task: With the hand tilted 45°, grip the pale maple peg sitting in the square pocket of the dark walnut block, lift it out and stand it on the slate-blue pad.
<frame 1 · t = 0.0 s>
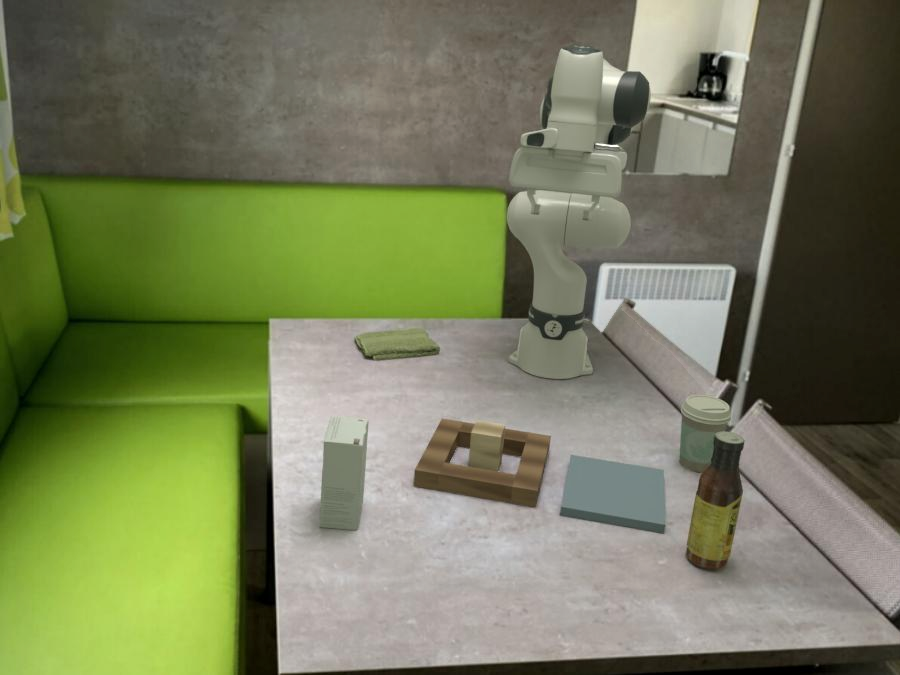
hand: (560, 217, 159), 39 cm above the table, tool pointing down, fingers open, 8 cm apart
sauce bottle: (705, 560, 128), on the table
coffee cup: (695, 465, 156), on the table
slate pad: (613, 495, 143), on the table
skincare box: (342, 516, 132), on the table
washcloth: (396, 350, 198), on the table
pocket block: (484, 467, 149), on the table
maple peg: (486, 448, 148), in the pocket block
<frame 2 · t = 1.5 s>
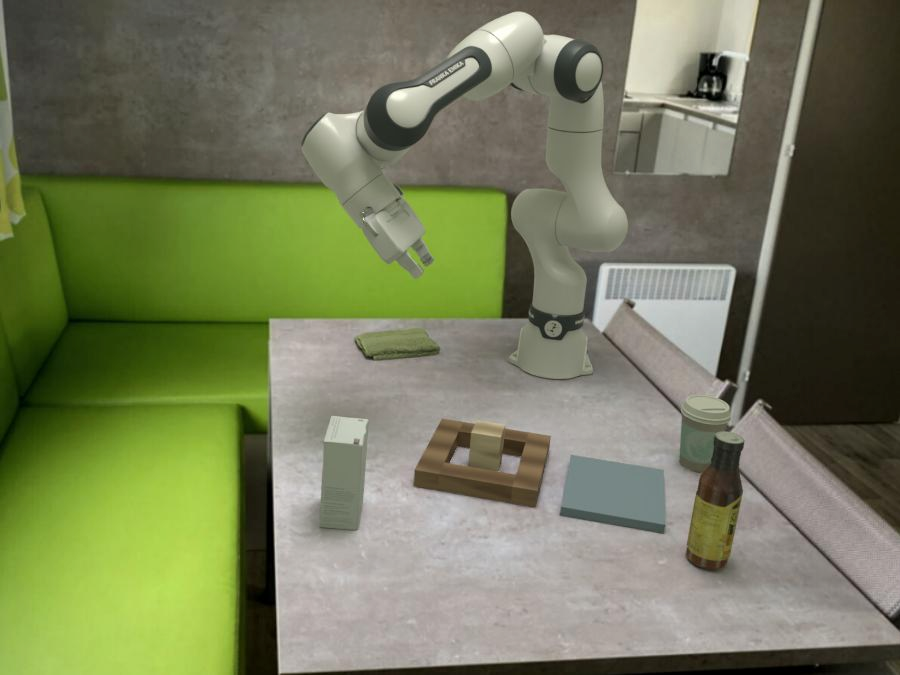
hand: (425, 269, 146), 32 cm above the table, tool tilted 45°, fingers open, 8 cm apart
nothing on the table moved.
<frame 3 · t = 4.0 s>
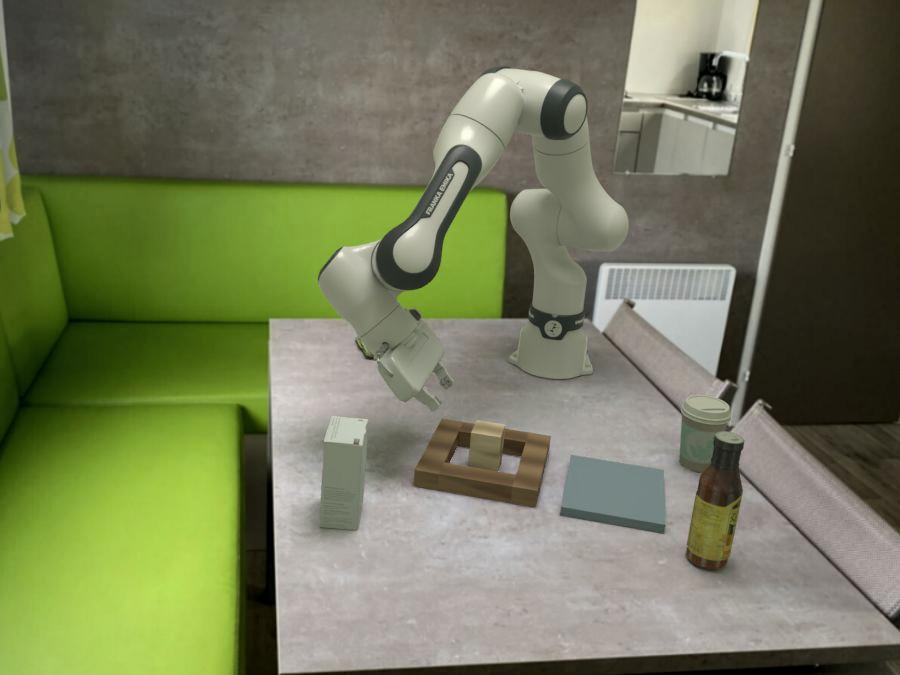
hand: (444, 396, 146), 12 cm above the table, tool tilted 45°, fingers open, 8 cm apart
nothing on the table moved.
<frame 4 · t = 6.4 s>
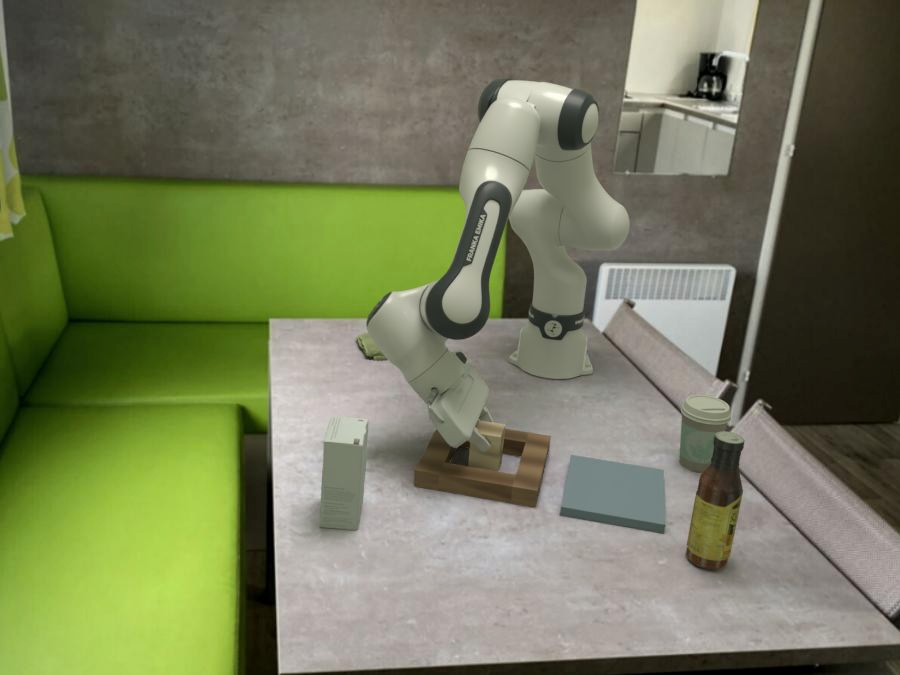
hand: (491, 439, 147), 5 cm above the table, tool tilted 45°, fingers closed on maple peg, 5 cm apart
maple peg: (486, 448, 148), in the pocket block, touching gripper
everything else where it was.
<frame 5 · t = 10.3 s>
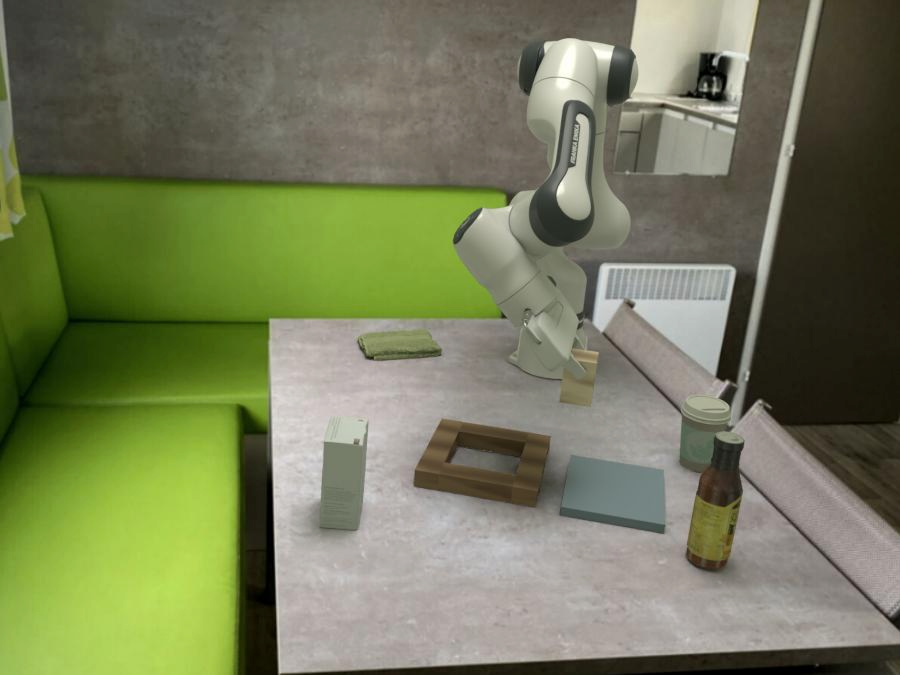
hand: (584, 368, 138), 21 cm above the table, tool tilted 45°, fingers closed on maple peg, 5 cm apart
maple peg: (579, 377, 138), point 20 cm above the table, touching gripper
everything else where it was.
when the fingers open (8 cm above the table, at t = 14.1 s): maple peg drops 1 cm, resting on slate pad.
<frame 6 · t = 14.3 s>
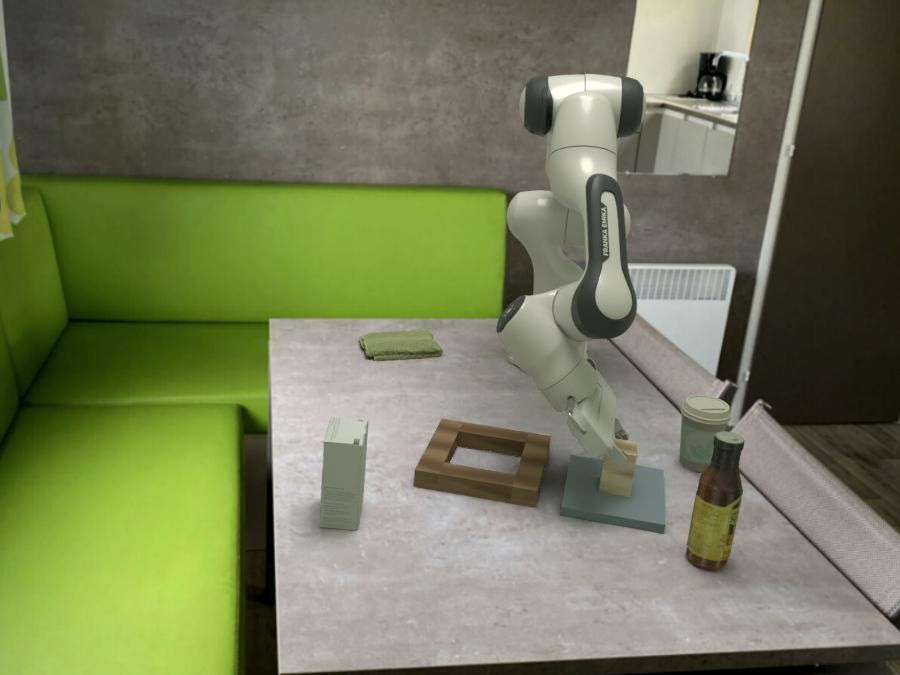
hand: (624, 450, 140), 8 cm above the table, tool tilted 45°, fingers open, 7 cm apart
maple peg: (618, 466, 142), on the slate pad, point 5 cm above the table
everything else where it was.
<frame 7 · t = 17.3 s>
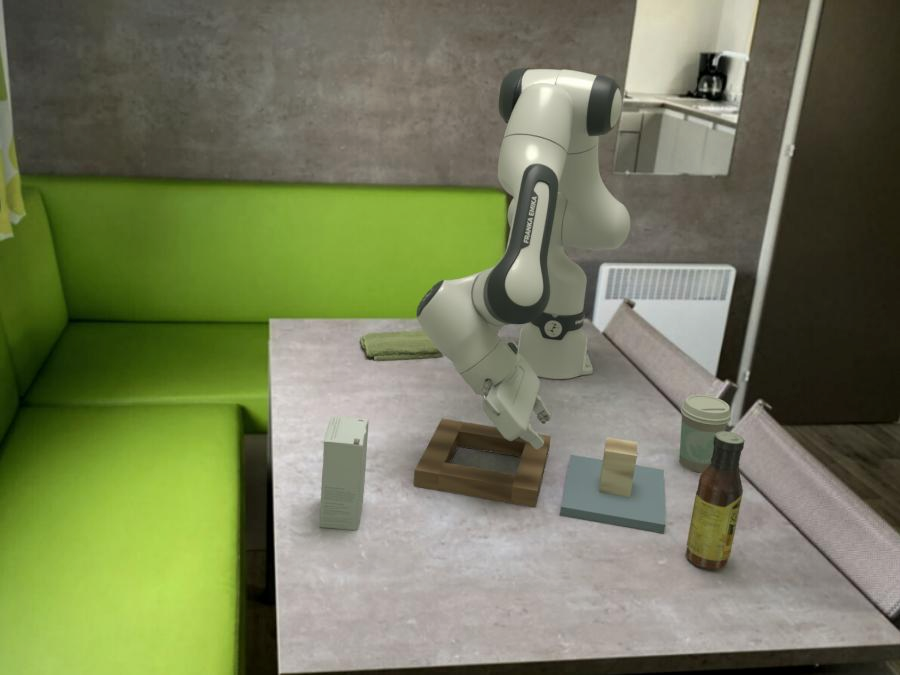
hand: (544, 432, 143), 9 cm above the table, tool tilted 45°, fingers open, 8 cm apart
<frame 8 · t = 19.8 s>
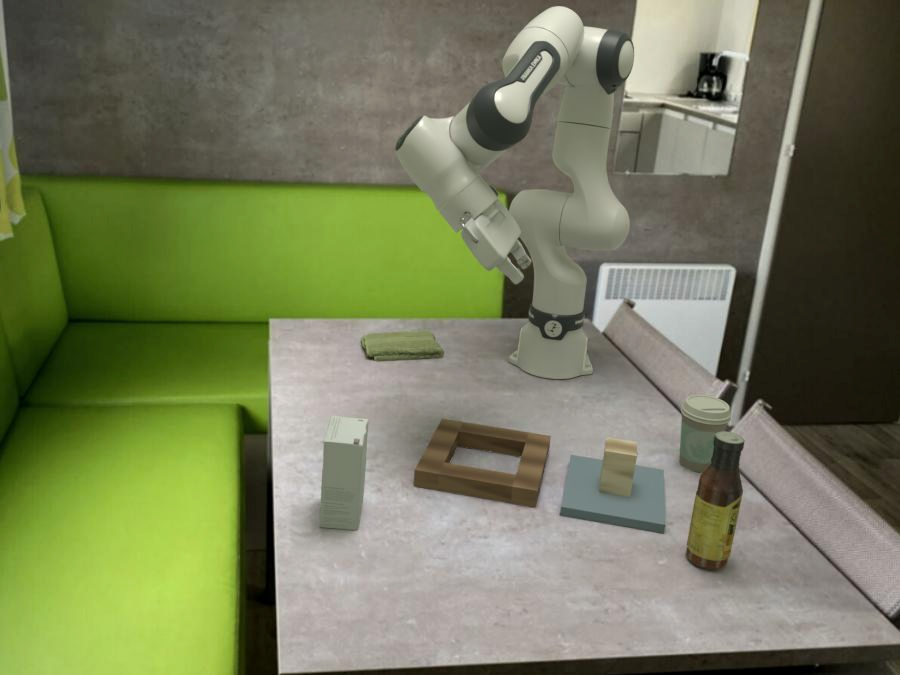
hand: (524, 273, 142), 33 cm above the table, tool tilted 45°, fingers open, 8 cm apart
at the end: maple peg inside the target area on the slate pad (0.1 cm from its centre), point 5.2 cm above the slate pad's base; maple peg tilted 0°; the gripper is holding nothing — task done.
